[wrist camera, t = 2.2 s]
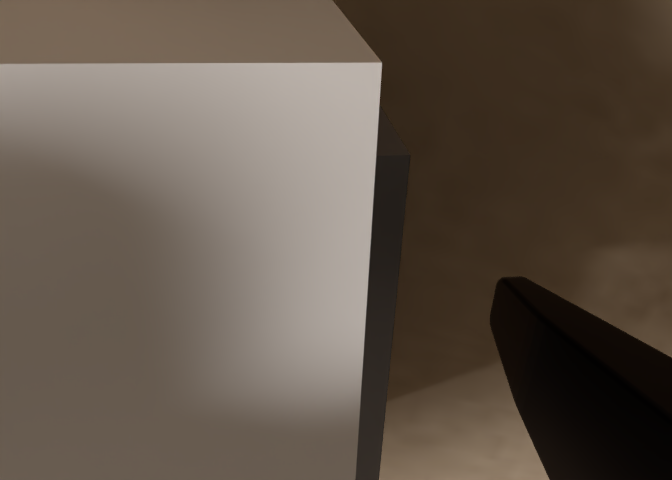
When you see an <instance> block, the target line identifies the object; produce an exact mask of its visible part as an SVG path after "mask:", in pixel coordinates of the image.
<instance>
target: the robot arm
mask: <svg viewBox="0 0 672 480" xmlns="http://www.w3.org/2000/svg"><path fill="white" fill-rule="evenodd" d="M490 325H491V330H492V333H493V336H494V339H495V342H496V346H497V349H498V352H499V355H500V358H501V361H502V364H503V367H504V371H505V374H506V377H507V380H508V383H509V386H510V389H511V392H512V395H513V398H514V401H515V404H516V406H517V408H518V411H519V413H520V415H521V418H522V420H523V422H524V424H525V426H526V429H527V431H528V433H529V435H530V438H531V440H532V442H533V444H534V446H535V449H536V451H537V453H538V455H539V457H540V460H541V462H542V464H543V466H544V468H545V471H546V473H547V475H548V477H549V479H550V480H672V358H671V357H669V356H668V355H666V354H664V353H662V352H660V351H658V350H657V349H655V348H653V347H651V346H649V345H647V344H646V343H644V342H642V341H640V340H638V339H636V338H635V337H633V336H631V335H629V334H627V333H626V332H624V331H622V330H620V329H618V328H616V327H615V326H613V325H611V324H609V323H607V322H605V321H604V320H602V319H600V318H598V317H596V316H594V315H593V314H591V313H589V312H587V311H585V310H583V309H582V308H580V307H578V306H576V305H574V304H572V303H571V302H569V301H567V300H565V299H563V298H561V297H560V296H558V295H556V294H554V293H552V292H550V291H549V290H547V289H545V288H543V287H541V286H539V285H538V284H536V283H534V282H532V281H530V280H529V279H527V278H525V277H521V276H519V277H503V278H501V279H499V280H498V282H497V285H496V289H495V294H494V299H493V303H492V308H491V313H490Z"/></svg>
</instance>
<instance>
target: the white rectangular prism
mask: <svg viewBox="0 0 672 480" xmlns="http://www.w3.org/2000/svg"><path fill="white" fill-rule="evenodd" d="M381 72H382V62H381V61H380V59H379V58H378V57H377V56H376V54H375V53H374V52H373V50H372V49H371V48H370V47H369V45H368V44H367V43H366V42H365V40H364V39H363V38H362V37H361V35H360V34H359V33H358V32H357V30H356V29H355V28H354V27H353V25H352V24H351V23H350V22H349V20H348V19H347V18H346V17H345V15H344V14H343V13H342V12H341V10H340V9H339V8H338V7H337V5H336V4H335V3H334V1H333V0H0V480H379V472H380V462H381V452H382V441H383V431H384V421H385V410H386V400H387V390H388V380H389V369H390V359H391V349H392V338H393V328H394V318H395V308H396V297H397V287H398V277H399V266H400V256H401V246H402V236H403V225H404V215H405V205H406V195H407V184H408V174H409V164H410V154H409V152H408V150H407V149H406V147H405V146H404V144H403V142H402V141H401V139H400V137H399V136H398V134H397V132H396V131H395V129H394V128H393V126H392V124H391V123H390V121H389V119H388V118H387V116H386V114H385V113H384V111H383V110H382V108H381V106H380V105H379V104H380V88H381Z"/></svg>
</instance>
